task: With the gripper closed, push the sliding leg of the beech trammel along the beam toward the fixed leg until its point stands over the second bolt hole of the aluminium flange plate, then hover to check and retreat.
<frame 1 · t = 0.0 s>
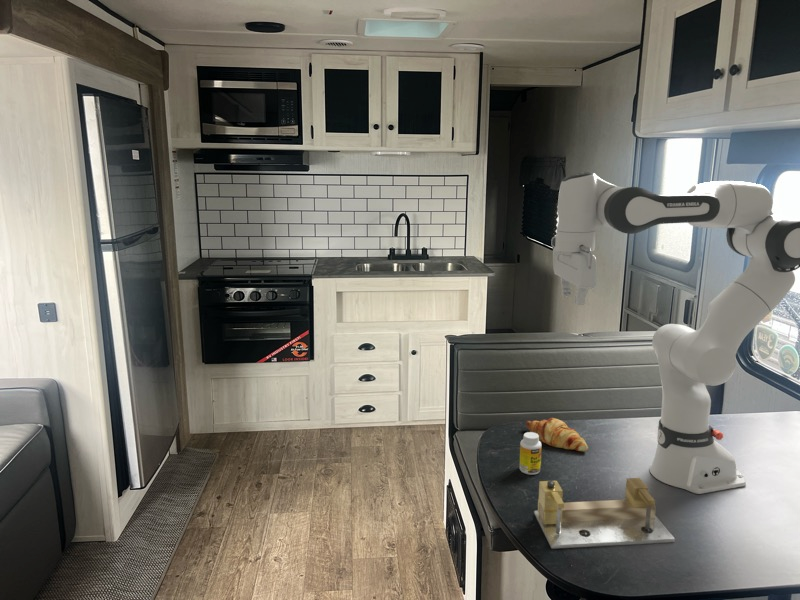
hand: (572, 300, 142), 48 cm above the table, tool pointing down, fingers open, 8 cm apart
croissant: (555, 442, 174), on the table
sliding leg: (553, 505, 131), point 6 cm above the table, slide at 0.0 cm
supplement bottle: (529, 471, 158), on the table
flange plate: (601, 527, 132), on the table
trammel beam: (596, 519, 135), resting on flange plate
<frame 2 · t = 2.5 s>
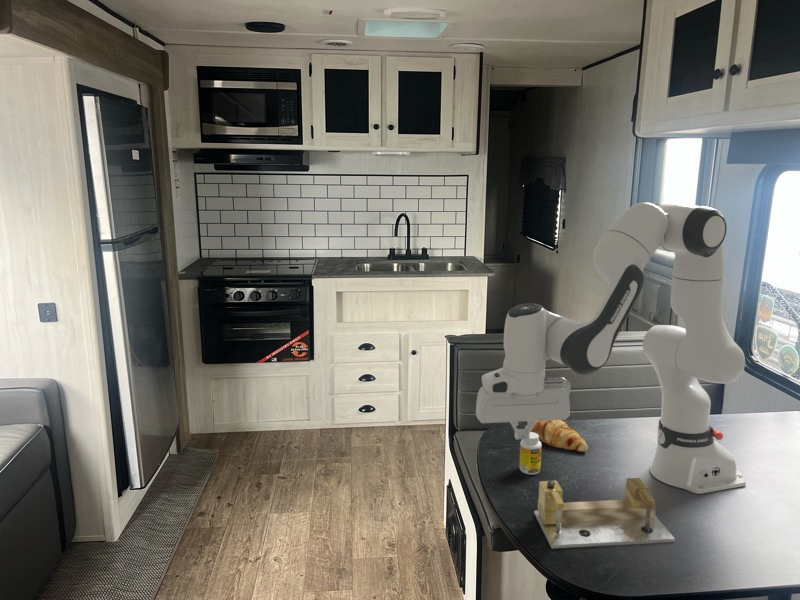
hand: (521, 438, 130), 21 cm above the table, tool pointing down, fingers closed
nothing on the table moved.
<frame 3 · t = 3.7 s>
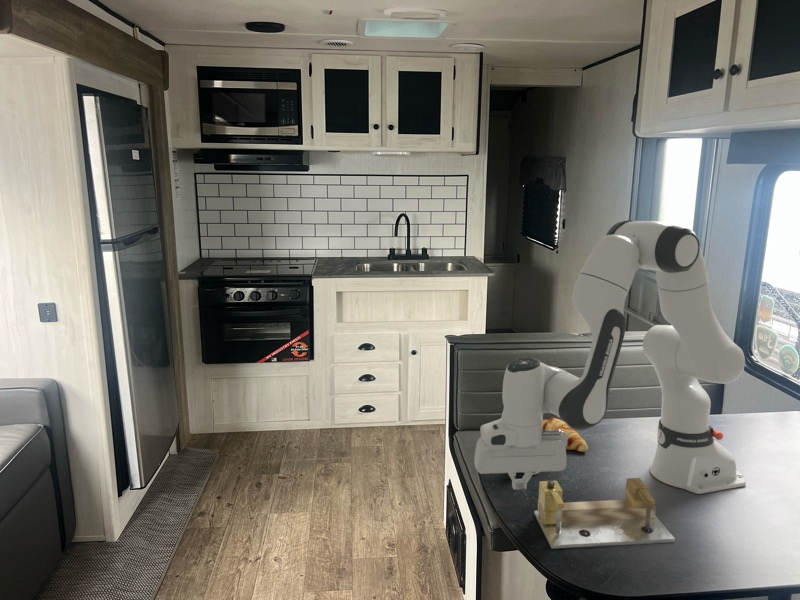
hand: (519, 488, 132), 9 cm above the table, tool pointing down, fingers closed
nothing on the table moved.
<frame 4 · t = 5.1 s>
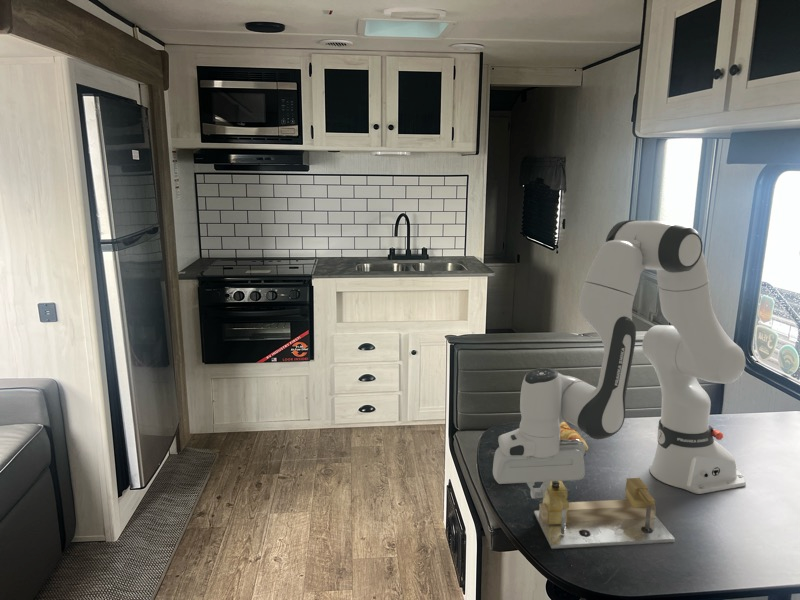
hand: (537, 497, 133), 6 cm above the table, tool pointing down, fingers closed
sliding leg: (558, 505, 131), point 6 cm above the table, slide at 1.1 cm, touching gripper
everything else where it was.
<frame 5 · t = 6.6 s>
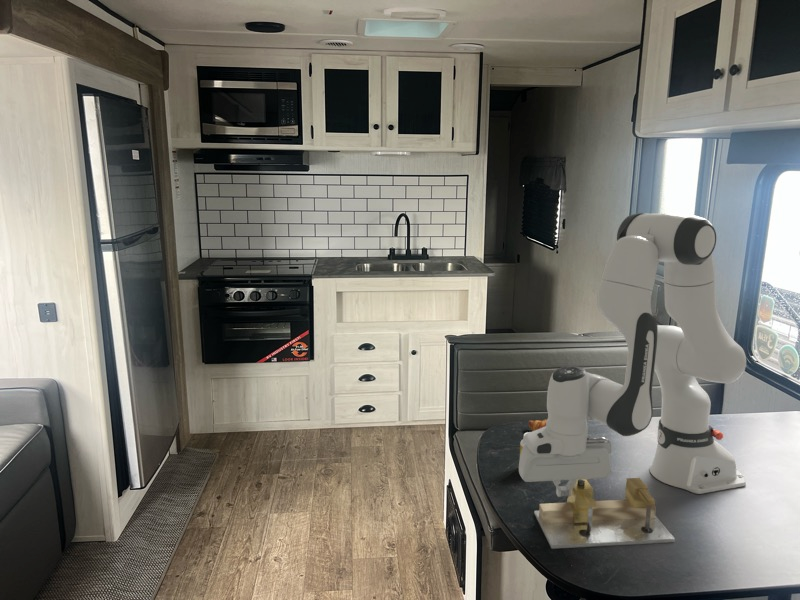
hand: (563, 495, 134), 7 cm above the table, tool pointing down, fingers closed
sliding leg: (583, 504, 132), point 6 cm above the table, slide at 6.9 cm, touching gripper
everything else where it was.
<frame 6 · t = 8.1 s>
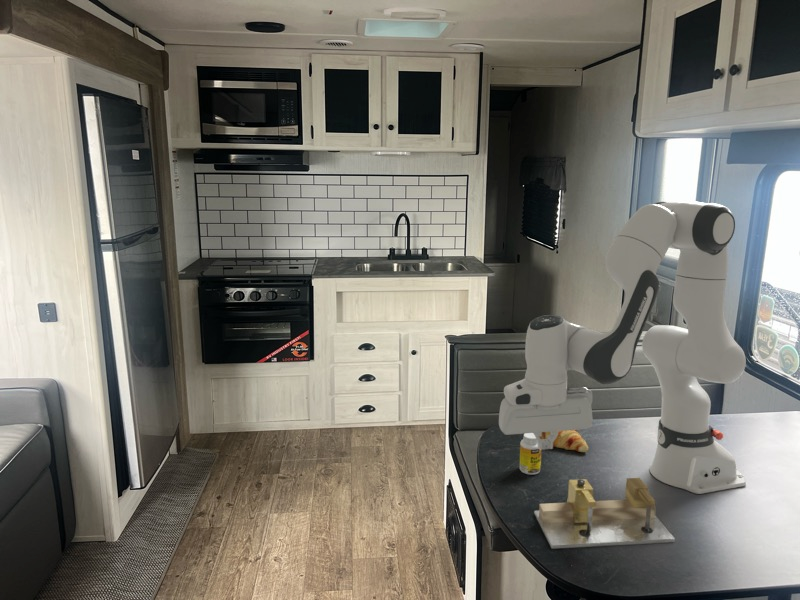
hand: (545, 448, 131), 18 cm above the table, tool pointing down, fingers closed
sliding leg: (583, 504, 132), point 6 cm above the table, slide at 6.9 cm
everything else where it was.
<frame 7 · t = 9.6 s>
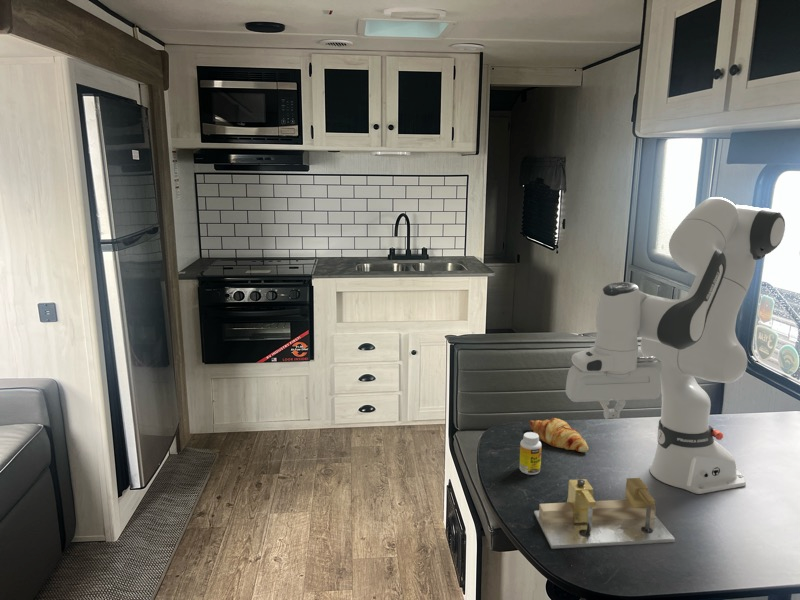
hand: (611, 417, 130), 25 cm above the table, tool pointing down, fingers closed
nothing on the table moved.
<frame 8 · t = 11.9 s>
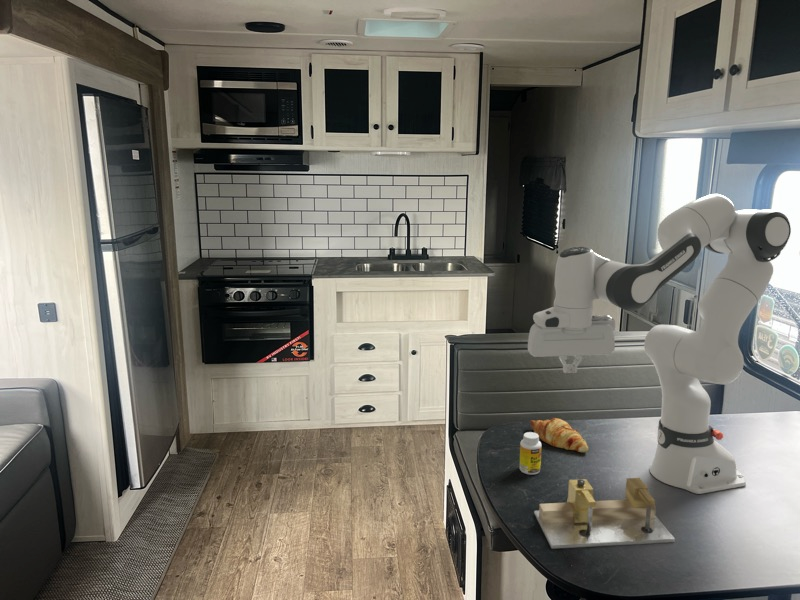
hand: (569, 372, 141), 31 cm above the table, tool pointing down, fingers closed
nothing on the table moved.
at the end: sliding leg slide at 6.9 cm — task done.
